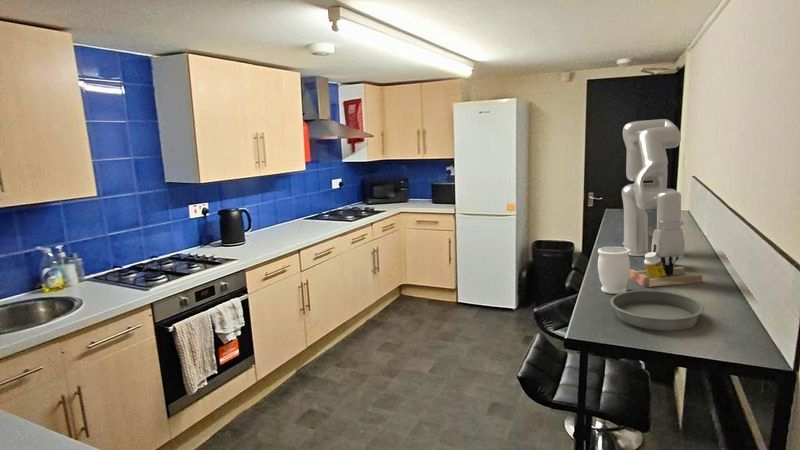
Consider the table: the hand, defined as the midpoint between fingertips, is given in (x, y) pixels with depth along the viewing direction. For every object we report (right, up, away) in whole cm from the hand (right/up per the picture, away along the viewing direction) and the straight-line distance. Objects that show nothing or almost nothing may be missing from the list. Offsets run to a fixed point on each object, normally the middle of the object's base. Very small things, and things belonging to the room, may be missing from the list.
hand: (668, 274), depth 169 cm
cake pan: (-21, -10, -30) cm, 38 cm away
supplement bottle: (-3, -2, 0) cm, 4 cm away
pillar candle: (+7, +1, +17) cm, 19 cm away
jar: (-23, -5, -5) cm, 24 cm away
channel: (-1, -2, +1) cm, 3 cm away
